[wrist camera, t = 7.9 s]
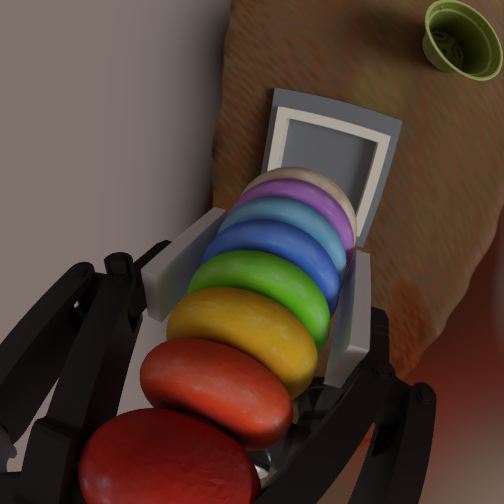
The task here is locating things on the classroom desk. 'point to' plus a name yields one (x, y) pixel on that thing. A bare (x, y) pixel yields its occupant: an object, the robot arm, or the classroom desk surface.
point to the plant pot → (461, 41)
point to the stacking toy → (232, 351)
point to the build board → (334, 147)
